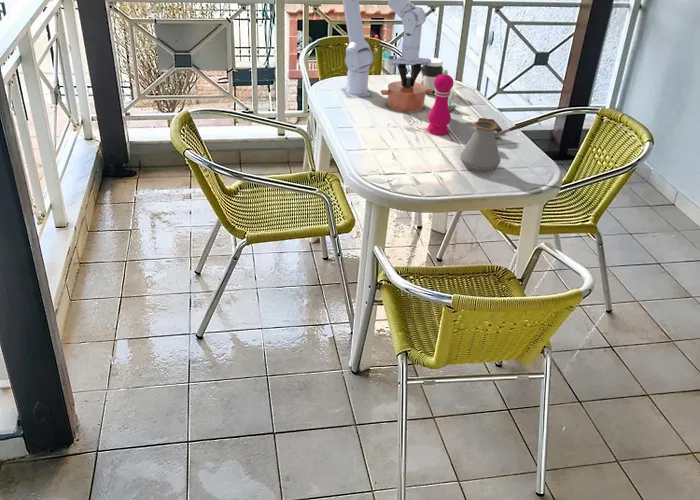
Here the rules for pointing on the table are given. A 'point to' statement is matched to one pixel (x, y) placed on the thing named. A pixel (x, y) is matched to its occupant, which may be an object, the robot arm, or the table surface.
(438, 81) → the pepper mill
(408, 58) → the robot arm
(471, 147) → the coffee pot
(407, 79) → the lid
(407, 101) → the pot
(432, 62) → the spread jar
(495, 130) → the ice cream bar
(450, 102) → the pacifier
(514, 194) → the table surface
